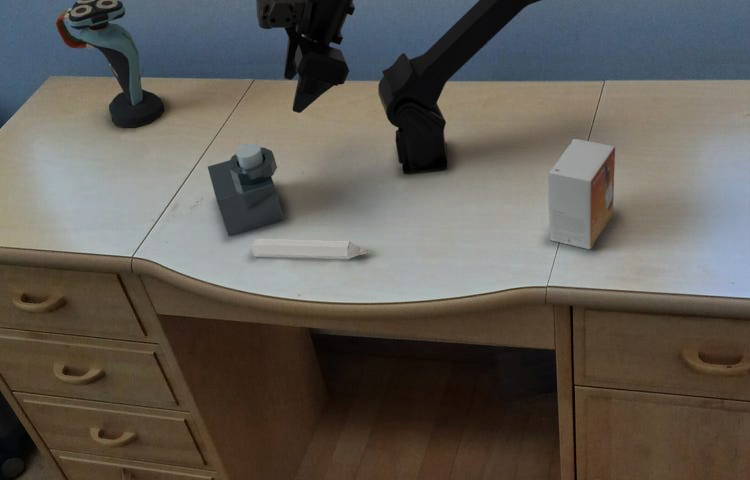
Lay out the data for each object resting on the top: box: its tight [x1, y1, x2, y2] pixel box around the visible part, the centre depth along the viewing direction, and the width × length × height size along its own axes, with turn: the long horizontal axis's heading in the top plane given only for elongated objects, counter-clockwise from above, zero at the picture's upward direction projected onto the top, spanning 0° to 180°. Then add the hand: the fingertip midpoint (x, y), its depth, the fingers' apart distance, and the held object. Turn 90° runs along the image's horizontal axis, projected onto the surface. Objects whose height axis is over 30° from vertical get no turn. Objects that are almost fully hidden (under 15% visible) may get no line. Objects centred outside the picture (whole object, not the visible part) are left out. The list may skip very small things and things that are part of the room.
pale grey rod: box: [251, 238, 371, 261], centre depth 122 cm, size 3×2×16 cm
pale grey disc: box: [235, 142, 264, 169], centre depth 126 cm, size 3×3×2 cm
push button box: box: [207, 146, 285, 237], centre depth 129 cm, size 9×9×8 cm
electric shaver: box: [55, 0, 166, 129], centre depth 150 cm, size 9×12×20 cm
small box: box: [547, 138, 616, 250], centre depth 115 cm, size 8×6×10 cm
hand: (291, 94), depth 124 cm, fingers open, 9 cm apart
